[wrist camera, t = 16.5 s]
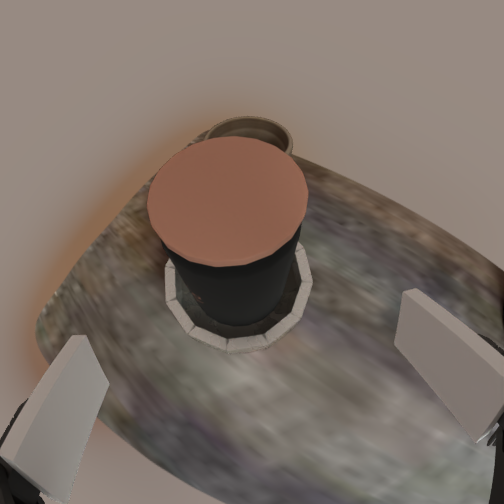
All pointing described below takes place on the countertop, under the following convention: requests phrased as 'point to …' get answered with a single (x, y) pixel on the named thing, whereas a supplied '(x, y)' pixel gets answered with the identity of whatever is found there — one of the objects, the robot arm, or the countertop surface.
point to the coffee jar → (230, 223)
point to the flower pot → (254, 131)
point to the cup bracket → (241, 336)
